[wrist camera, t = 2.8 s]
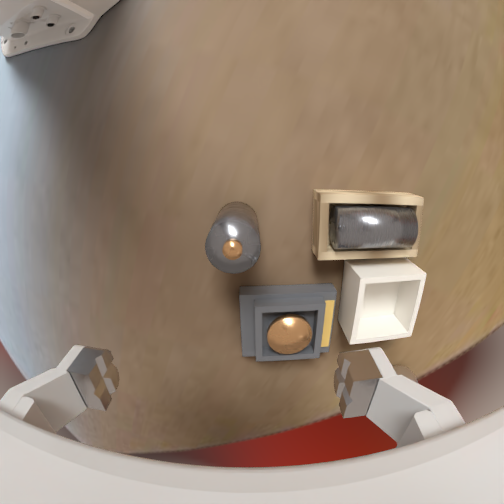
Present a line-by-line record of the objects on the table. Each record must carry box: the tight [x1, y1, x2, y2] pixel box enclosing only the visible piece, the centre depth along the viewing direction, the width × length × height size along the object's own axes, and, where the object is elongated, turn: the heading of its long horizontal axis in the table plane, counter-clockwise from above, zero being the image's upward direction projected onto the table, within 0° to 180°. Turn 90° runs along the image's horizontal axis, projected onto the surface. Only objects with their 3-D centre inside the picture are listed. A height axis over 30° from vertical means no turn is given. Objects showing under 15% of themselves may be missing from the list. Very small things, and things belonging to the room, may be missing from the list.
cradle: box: [239, 283, 337, 361], centre depth 31 cm, size 10×8×4 cm
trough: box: [312, 190, 424, 260], centre depth 27 cm, size 11×6×3 cm, turn 91°
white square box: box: [338, 257, 426, 345], centre depth 29 cm, size 8×8×5 cm
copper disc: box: [267, 314, 312, 354], centre depth 29 cm, size 5×5×1 cm
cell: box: [205, 202, 261, 273], centre depth 24 cm, size 4×4×9 cm
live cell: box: [329, 206, 418, 249], centre depth 26 cm, size 9×4×4 cm, turn 91°
